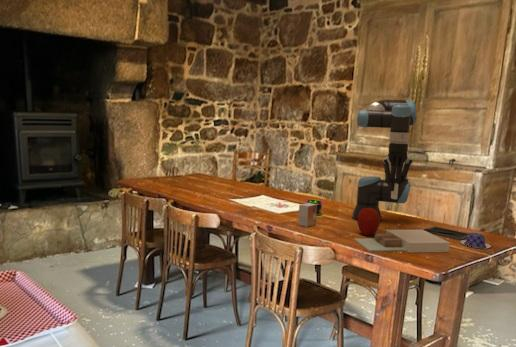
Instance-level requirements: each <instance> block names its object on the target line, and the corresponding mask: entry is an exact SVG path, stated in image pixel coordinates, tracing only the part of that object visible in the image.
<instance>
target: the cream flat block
mask: <svg viewBox="0 0 516 347" xmlns="http://www.w3.org/2000/svg"><path fill="white" fill-rule="evenodd" d="M385 234H391V235H393V236H395V237H397V238H398V239H400V240H401V247H403V248H404V249H406V251H405V252H407V253H449V252H450V246H451V242H449V241H448V240H445V239H443V238H442V237H440V236H437V235H433V234H431V233H429V232H427V231H425V230H423V229H385Z"/></svg>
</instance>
